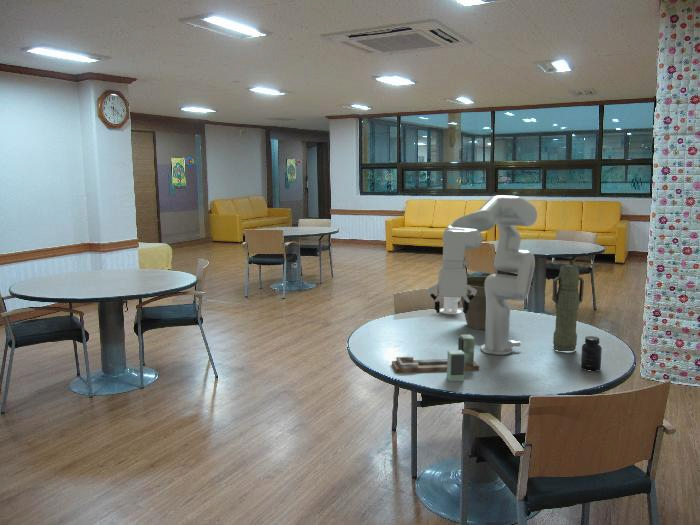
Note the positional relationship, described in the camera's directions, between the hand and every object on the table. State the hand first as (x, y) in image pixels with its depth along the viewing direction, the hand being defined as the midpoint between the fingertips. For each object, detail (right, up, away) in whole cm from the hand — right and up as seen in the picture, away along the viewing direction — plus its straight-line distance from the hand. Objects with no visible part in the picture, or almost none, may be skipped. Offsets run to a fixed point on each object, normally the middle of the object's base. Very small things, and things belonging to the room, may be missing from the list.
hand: (451, 312), depth 210 cm
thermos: (+52, -18, +32) cm, 63 cm away
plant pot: (+26, -12, +68) cm, 74 cm away
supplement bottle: (+53, -22, +9) cm, 58 cm away
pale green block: (+1, -23, -2) cm, 24 cm away
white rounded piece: (+16, -8, +95) cm, 97 cm away
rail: (-4, -21, +11) cm, 24 cm away
